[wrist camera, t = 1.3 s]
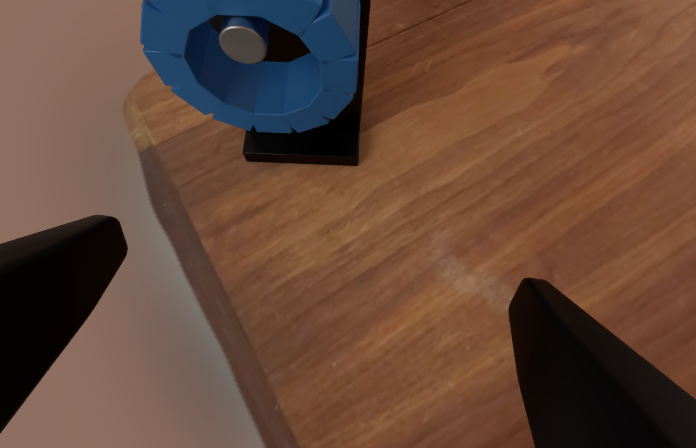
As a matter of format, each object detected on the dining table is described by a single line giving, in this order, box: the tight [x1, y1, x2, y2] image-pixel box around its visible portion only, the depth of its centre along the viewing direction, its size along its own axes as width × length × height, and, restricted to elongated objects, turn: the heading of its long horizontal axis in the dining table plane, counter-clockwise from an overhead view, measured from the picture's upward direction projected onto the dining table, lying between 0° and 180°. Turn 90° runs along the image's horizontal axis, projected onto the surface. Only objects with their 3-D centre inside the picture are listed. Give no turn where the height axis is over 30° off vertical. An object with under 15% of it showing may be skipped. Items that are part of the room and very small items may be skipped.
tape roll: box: [140, 0, 360, 133], centre depth 12 cm, size 3×7×7 cm, turn 88°
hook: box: [209, 0, 371, 166], centre depth 18 cm, size 10×8×16 cm
